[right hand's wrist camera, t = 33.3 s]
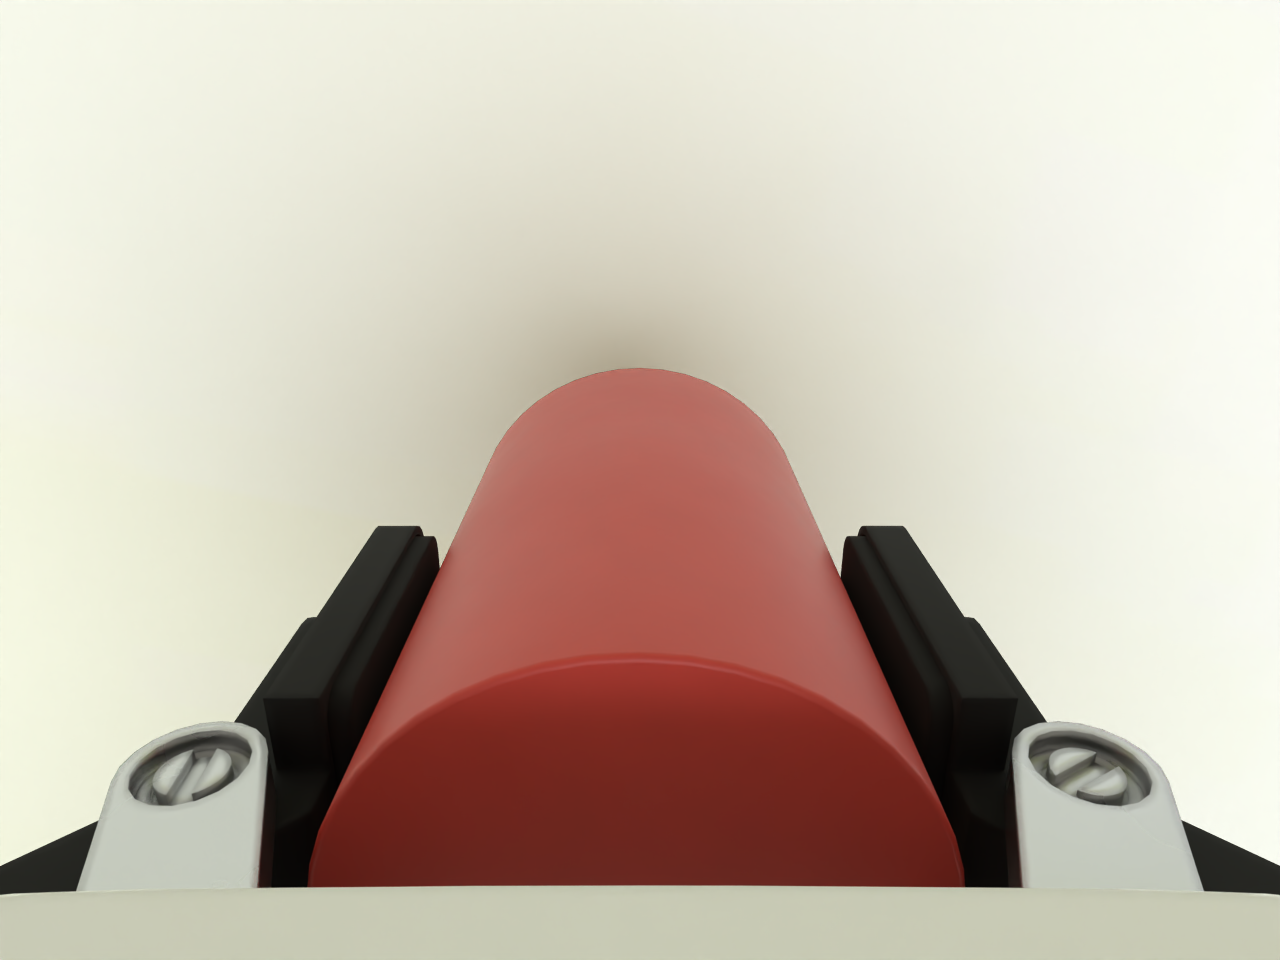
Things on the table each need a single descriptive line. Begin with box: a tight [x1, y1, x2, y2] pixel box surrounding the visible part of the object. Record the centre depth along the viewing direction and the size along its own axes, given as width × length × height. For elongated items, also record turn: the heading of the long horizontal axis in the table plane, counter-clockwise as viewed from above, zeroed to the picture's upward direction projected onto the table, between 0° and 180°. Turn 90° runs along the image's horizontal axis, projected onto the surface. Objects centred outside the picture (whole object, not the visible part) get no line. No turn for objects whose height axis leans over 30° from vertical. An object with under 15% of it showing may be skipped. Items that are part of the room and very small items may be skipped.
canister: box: [307, 368, 965, 888], centre depth 11 cm, size 6×6×8 cm
